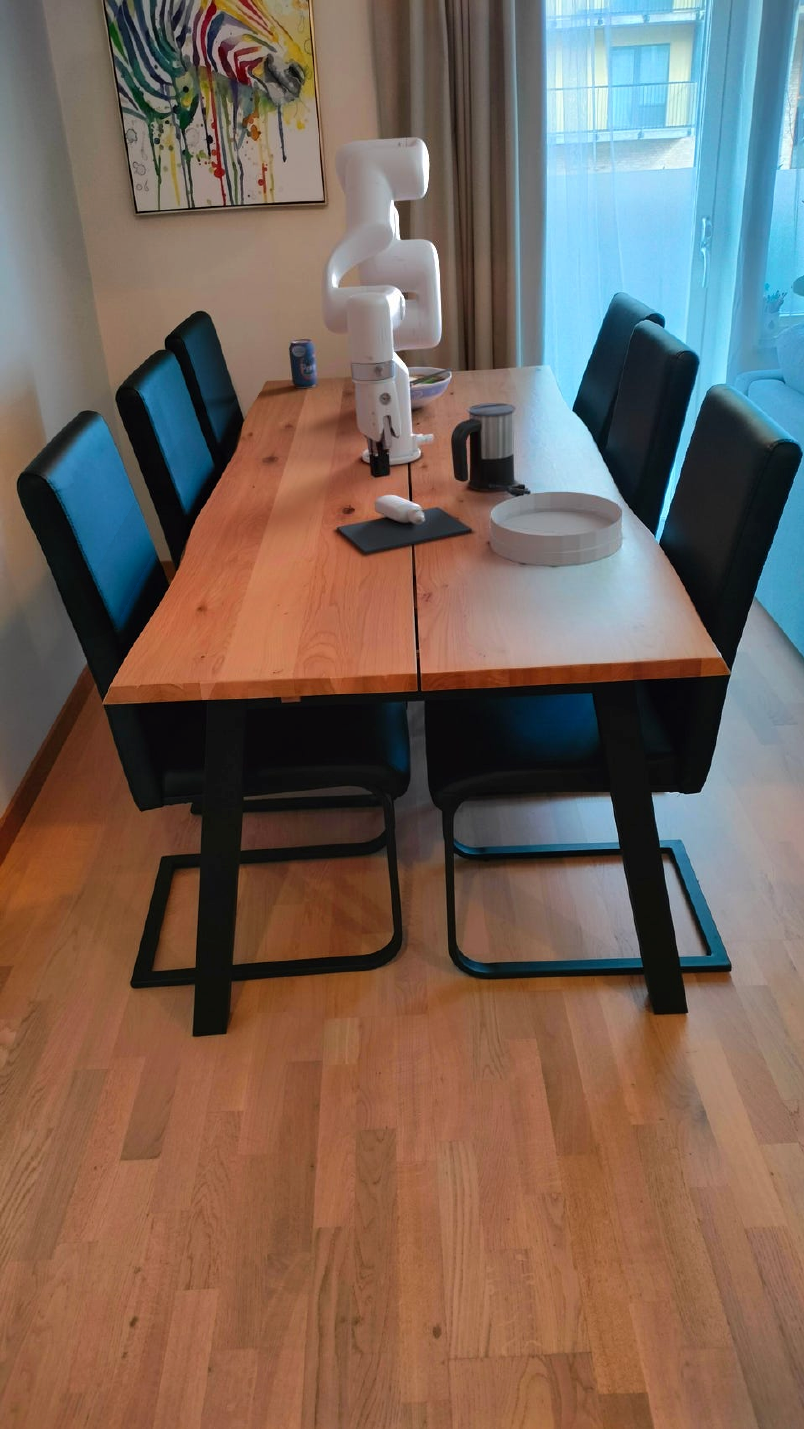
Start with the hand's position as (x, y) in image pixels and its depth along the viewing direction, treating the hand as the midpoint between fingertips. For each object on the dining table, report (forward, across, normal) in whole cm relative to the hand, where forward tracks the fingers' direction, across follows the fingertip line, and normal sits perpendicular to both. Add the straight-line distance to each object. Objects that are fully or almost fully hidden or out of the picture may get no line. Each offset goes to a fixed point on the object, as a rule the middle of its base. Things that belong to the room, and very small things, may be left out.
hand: (380, 475), depth 186 cm
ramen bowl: (+8, +74, -37) cm, 83 cm away
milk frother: (+8, +1, -25) cm, 26 cm away
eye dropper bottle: (+5, 0, -1) cm, 5 cm away
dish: (+8, -28, -20) cm, 35 cm away
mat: (+8, -9, 0) cm, 12 cm away
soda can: (+8, +113, -23) cm, 116 cm away
